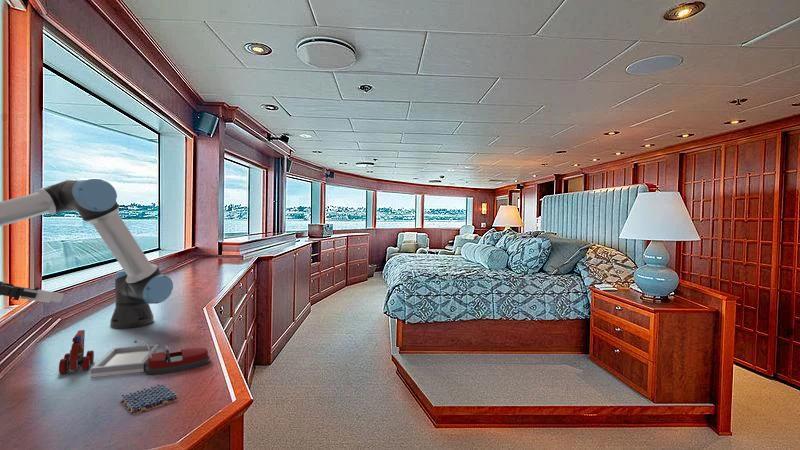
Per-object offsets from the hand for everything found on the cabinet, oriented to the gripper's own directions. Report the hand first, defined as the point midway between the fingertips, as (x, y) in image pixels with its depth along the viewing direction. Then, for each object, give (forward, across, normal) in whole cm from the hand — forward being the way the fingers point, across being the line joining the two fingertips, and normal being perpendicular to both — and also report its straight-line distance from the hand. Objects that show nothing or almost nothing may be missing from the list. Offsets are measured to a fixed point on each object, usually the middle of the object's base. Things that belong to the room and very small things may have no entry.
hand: (57, 298), depth 119 cm
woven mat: (+32, +34, -20) cm, 50 cm away
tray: (+24, +2, -16) cm, 28 cm away
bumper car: (+36, +12, -14) cm, 40 cm away
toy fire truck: (+11, 0, -19) cm, 22 cm away
